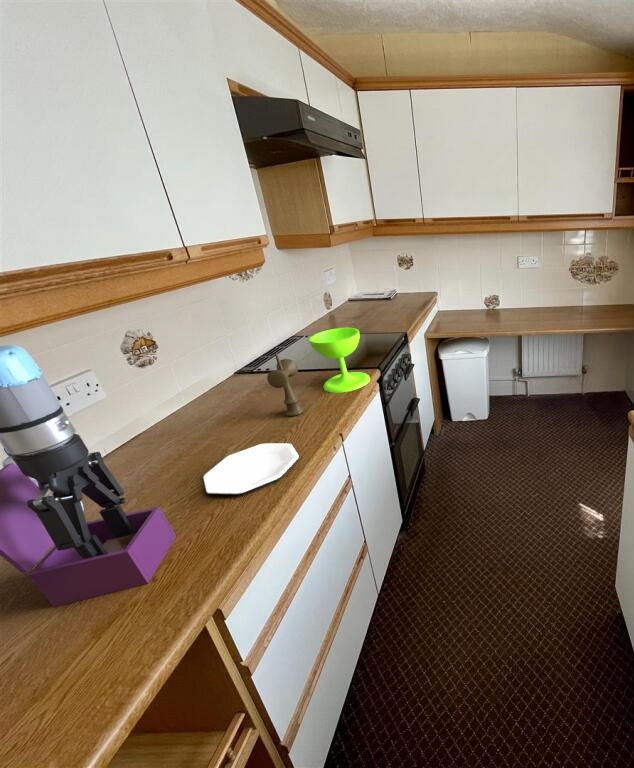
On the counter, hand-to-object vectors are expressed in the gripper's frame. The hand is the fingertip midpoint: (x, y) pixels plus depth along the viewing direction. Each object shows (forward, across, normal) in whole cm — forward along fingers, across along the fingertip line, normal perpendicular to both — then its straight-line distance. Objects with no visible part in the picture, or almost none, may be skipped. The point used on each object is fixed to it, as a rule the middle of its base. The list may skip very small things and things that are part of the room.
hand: (115, 549), depth 73 cm
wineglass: (+4, +71, -35) cm, 79 cm away
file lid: (-11, 0, +9) cm, 14 cm away
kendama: (+4, +53, -21) cm, 57 cm away
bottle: (+5, +21, +20) cm, 29 cm away
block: (+4, 0, 0) cm, 4 cm away
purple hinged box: (+4, 0, +1) cm, 4 cm away
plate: (+4, +24, -16) cm, 29 cm away
